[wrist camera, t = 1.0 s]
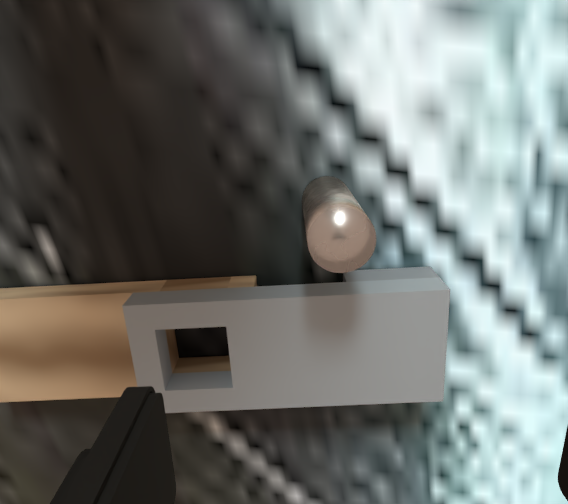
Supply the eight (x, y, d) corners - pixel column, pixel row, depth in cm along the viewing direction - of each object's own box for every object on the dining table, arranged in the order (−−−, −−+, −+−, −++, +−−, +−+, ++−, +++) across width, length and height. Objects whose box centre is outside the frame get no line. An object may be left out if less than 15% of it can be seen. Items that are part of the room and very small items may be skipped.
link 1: (-27, 289, 32) (-46, 301, 30) (256, 275, 31) (254, 286, 29) (3, 386, 34) (-14, 402, 32) (264, 374, 34) (263, 390, 32)
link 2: (142, 281, 31) (122, 305, 28) (430, 266, 31) (450, 289, 27) (158, 379, 34) (142, 414, 30) (425, 367, 33) (442, 401, 30)
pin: (300, 177, 29) (306, 209, 21) (350, 174, 29) (376, 205, 20) (302, 225, 30) (308, 274, 22) (351, 222, 30) (375, 271, 21)
